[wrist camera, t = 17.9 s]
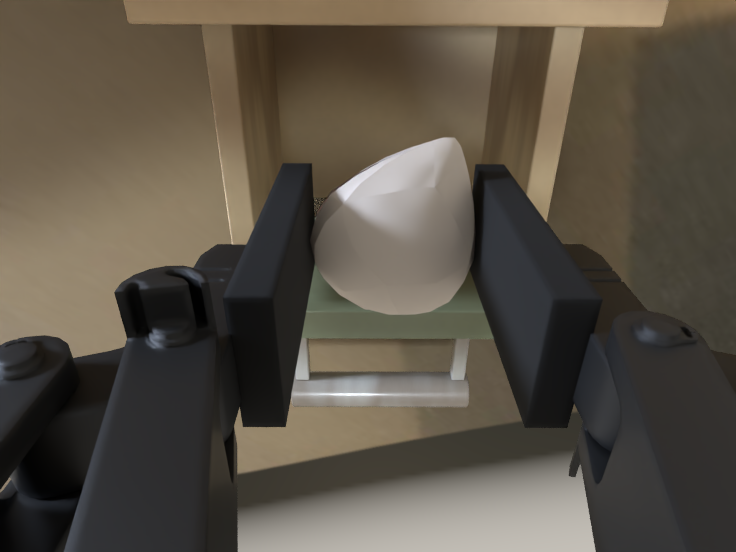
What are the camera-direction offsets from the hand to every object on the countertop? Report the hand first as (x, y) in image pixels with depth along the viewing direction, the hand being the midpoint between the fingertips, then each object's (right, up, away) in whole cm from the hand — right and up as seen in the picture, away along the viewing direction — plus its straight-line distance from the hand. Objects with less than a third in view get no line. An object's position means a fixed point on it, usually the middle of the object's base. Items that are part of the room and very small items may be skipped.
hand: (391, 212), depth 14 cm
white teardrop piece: (0, 0, 0) cm, 1 cm away
